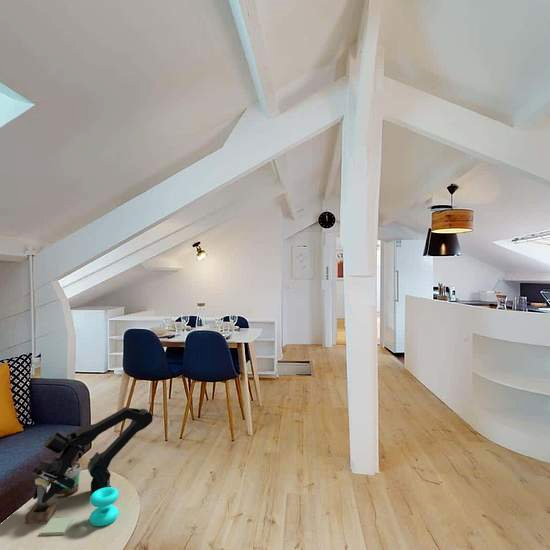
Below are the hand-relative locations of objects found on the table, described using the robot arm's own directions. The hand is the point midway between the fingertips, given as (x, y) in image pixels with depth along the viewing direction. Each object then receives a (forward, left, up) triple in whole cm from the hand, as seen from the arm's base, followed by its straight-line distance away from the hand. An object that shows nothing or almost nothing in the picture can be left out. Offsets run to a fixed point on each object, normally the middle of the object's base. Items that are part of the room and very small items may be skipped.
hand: (38, 500), depth 145 cm
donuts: (-25, +2, -7) cm, 26 cm away
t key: (-1, -1, -7) cm, 7 cm away
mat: (-10, +6, -7) cm, 13 cm away
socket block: (-1, -1, -7) cm, 7 cm away
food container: (-5, -17, -7) cm, 19 cm away
